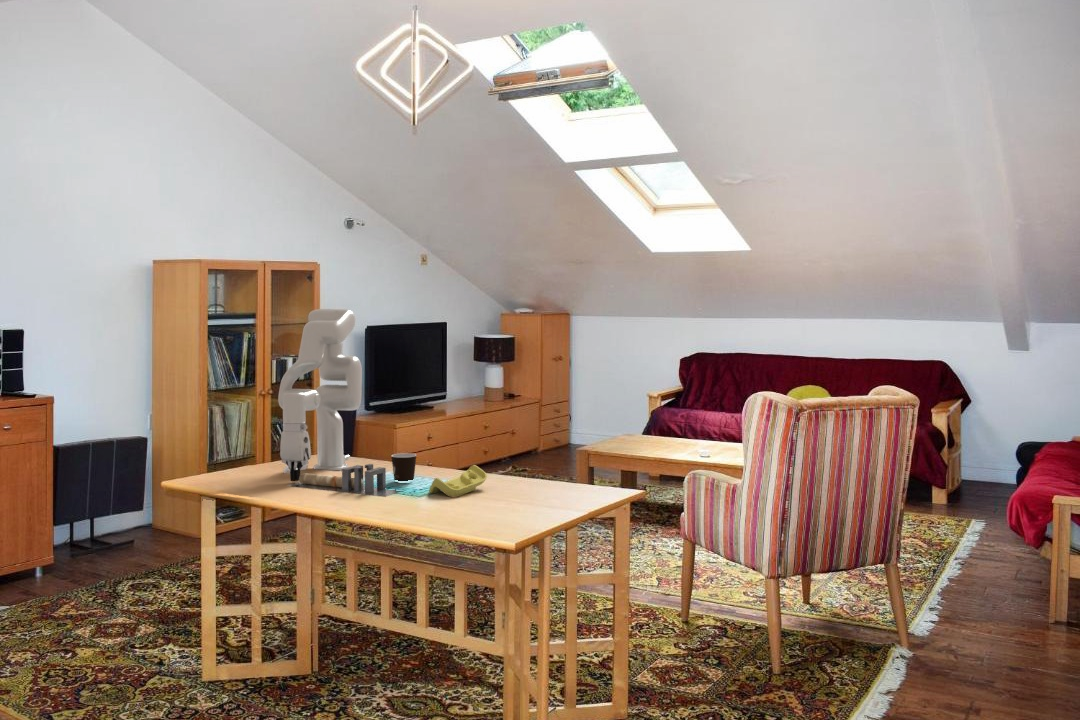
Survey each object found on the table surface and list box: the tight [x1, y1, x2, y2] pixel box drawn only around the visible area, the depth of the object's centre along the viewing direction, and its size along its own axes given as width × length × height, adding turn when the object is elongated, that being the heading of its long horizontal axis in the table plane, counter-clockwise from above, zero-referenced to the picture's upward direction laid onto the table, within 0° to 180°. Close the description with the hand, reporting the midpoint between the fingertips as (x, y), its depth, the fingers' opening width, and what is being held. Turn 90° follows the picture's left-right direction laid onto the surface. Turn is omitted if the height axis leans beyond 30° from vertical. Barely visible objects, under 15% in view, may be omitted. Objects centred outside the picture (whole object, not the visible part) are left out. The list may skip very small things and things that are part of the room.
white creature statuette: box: [283, 461, 309, 474], centre depth 356 cm, size 10×9×12 cm
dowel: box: [298, 472, 365, 489], centre depth 324 cm, size 24×4×4 cm, turn 65°
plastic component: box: [428, 464, 488, 498], centre depth 321 cm, size 20×7×10 cm
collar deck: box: [287, 463, 403, 498], centre depth 321 cm, size 12×40×9 cm, turn 65°
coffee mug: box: [390, 452, 417, 481], centre depth 334 cm, size 12×9×10 cm
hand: (295, 480), depth 331 cm, fingers closed
